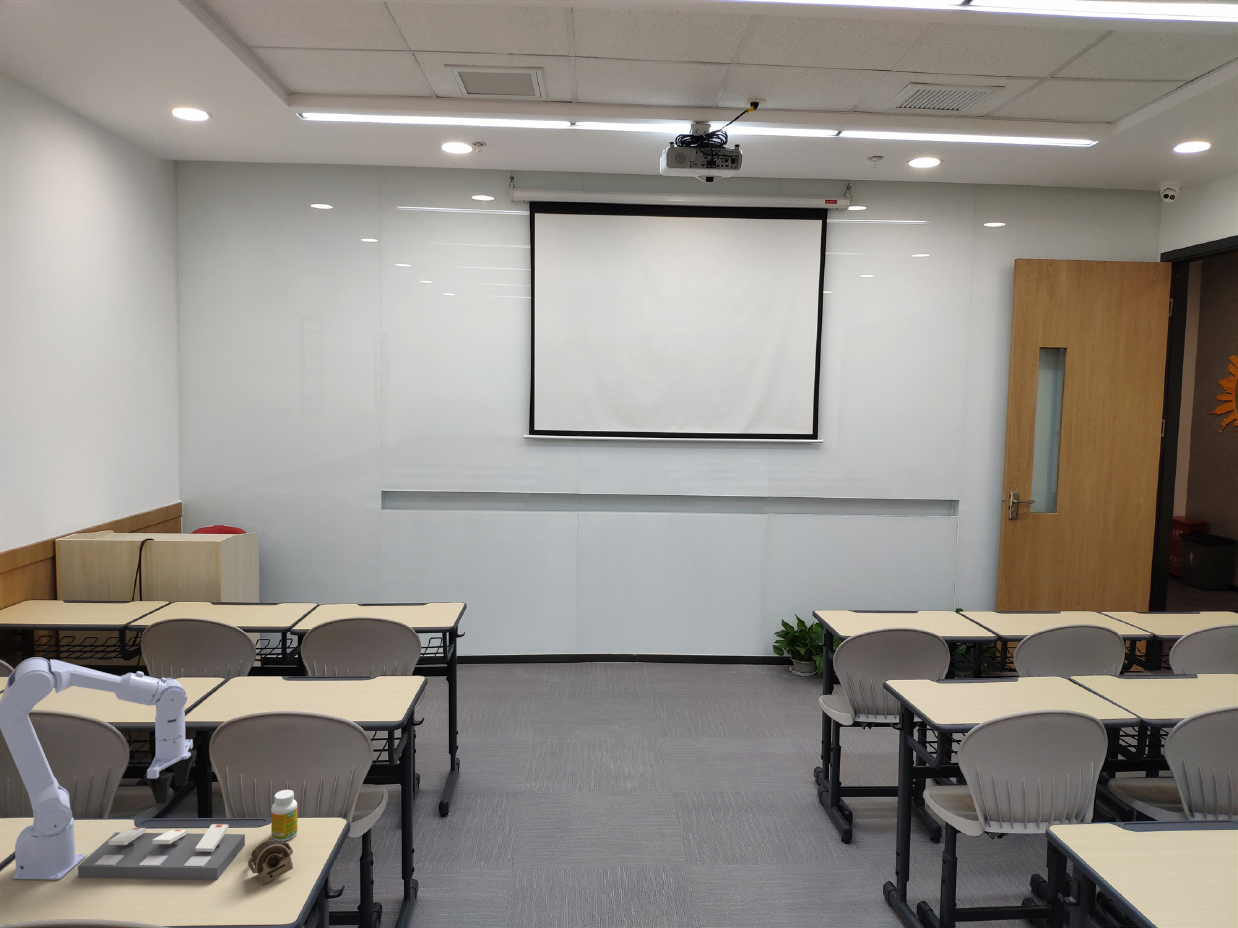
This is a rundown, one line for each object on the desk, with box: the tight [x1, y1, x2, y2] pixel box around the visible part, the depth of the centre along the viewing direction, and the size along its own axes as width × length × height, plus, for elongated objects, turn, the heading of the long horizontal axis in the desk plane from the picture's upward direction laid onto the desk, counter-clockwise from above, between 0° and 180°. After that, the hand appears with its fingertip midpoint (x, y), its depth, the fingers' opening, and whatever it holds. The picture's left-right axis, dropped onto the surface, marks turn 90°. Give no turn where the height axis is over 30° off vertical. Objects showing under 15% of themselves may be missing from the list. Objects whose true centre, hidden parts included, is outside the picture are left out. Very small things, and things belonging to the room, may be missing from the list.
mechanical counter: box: [247, 839, 294, 886], centre depth 158 cm, size 7×13×10 cm
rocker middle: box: [152, 829, 188, 844], centre depth 162 cm, size 4×7×1 cm, turn 1°
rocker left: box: [108, 827, 147, 845], centre depth 161 cm, size 4×7×1 cm, turn 1°
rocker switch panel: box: [77, 831, 246, 881], centre depth 160 cm, size 28×12×3 cm, turn 92°
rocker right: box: [195, 823, 230, 852], centre depth 162 cm, size 4×7×1 cm, turn 2°
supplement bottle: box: [270, 789, 298, 842], centre depth 170 cm, size 5×5×10 cm
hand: (171, 793), depth 169 cm, fingers open, 7 cm apart
